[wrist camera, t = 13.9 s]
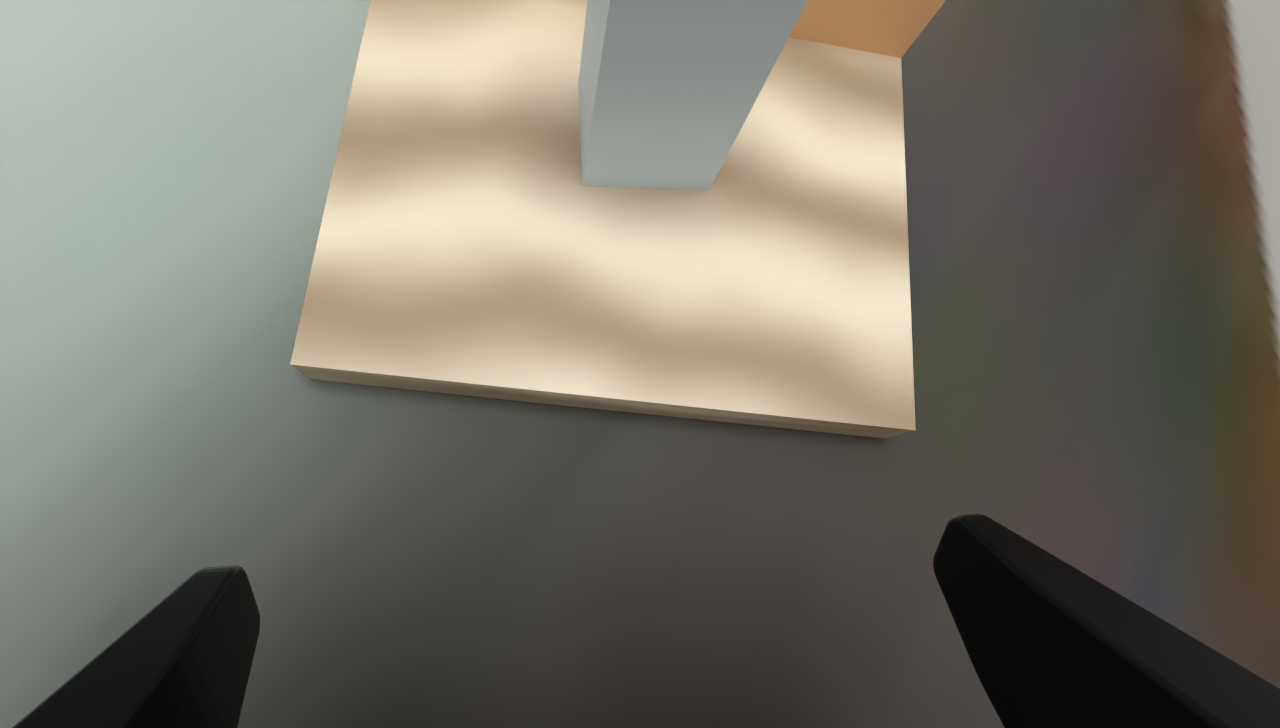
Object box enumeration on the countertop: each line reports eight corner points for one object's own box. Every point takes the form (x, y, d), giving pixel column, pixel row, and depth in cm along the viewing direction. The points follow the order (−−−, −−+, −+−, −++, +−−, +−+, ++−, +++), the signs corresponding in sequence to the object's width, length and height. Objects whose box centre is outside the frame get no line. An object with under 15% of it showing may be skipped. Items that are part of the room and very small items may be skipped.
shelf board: (884, 438, 24) (915, 430, 22) (311, 379, 21) (290, 364, 19) (875, 70, 28) (900, 37, 26) (395, -18, 26) (384, -63, 24)
